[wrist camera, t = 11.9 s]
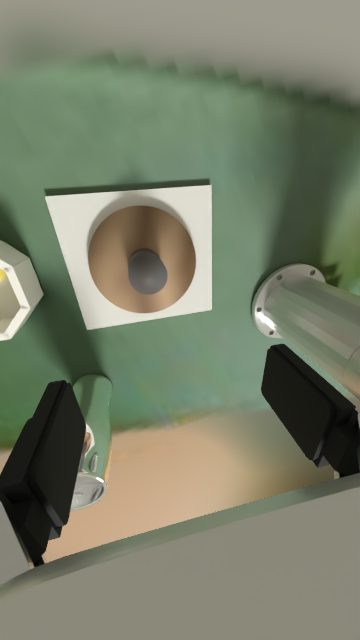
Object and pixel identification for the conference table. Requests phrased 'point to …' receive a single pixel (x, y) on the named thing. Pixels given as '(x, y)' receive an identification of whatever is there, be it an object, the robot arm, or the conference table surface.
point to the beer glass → (93, 440)
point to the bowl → (16, 290)
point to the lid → (142, 259)
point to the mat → (93, 208)
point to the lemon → (2, 274)
